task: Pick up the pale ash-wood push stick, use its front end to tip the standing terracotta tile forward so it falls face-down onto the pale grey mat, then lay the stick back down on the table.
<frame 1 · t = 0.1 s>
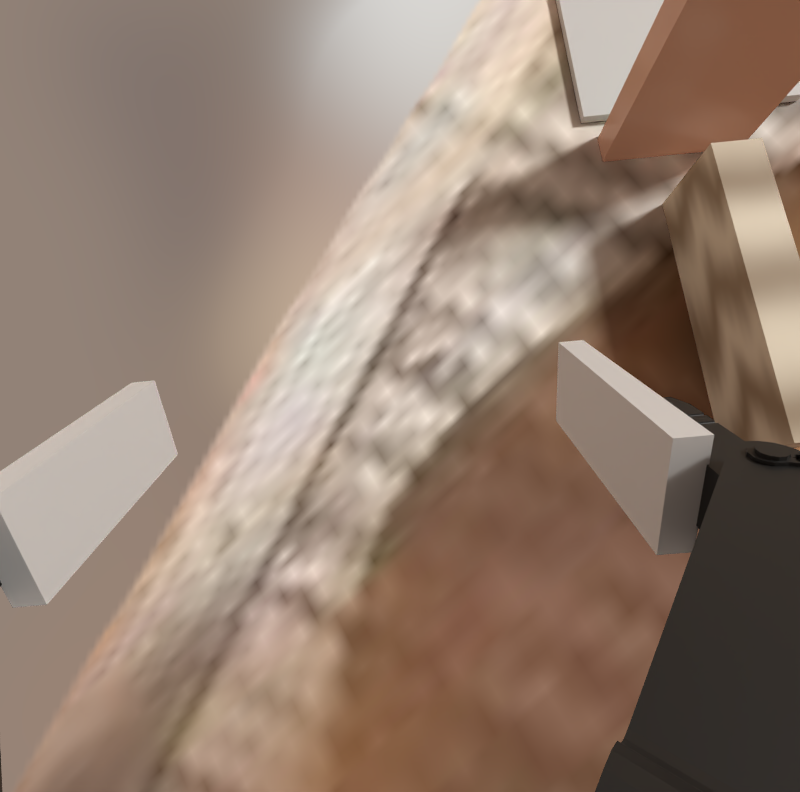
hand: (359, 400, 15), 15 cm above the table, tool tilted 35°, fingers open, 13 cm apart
tile: (668, 143, 35), on the table
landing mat: (669, 43, 37), on the table
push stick: (711, 320, 32), on the table
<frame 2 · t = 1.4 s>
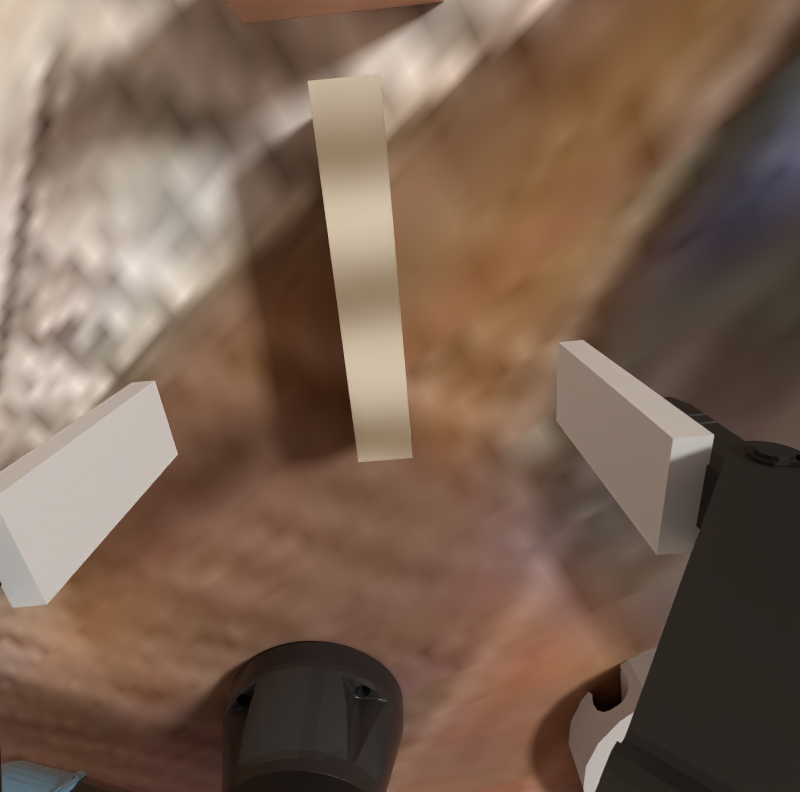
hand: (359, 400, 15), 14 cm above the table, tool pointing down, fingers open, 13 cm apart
ashtray: (690, 719, 44), on the table
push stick: (372, 279, 28), on the table
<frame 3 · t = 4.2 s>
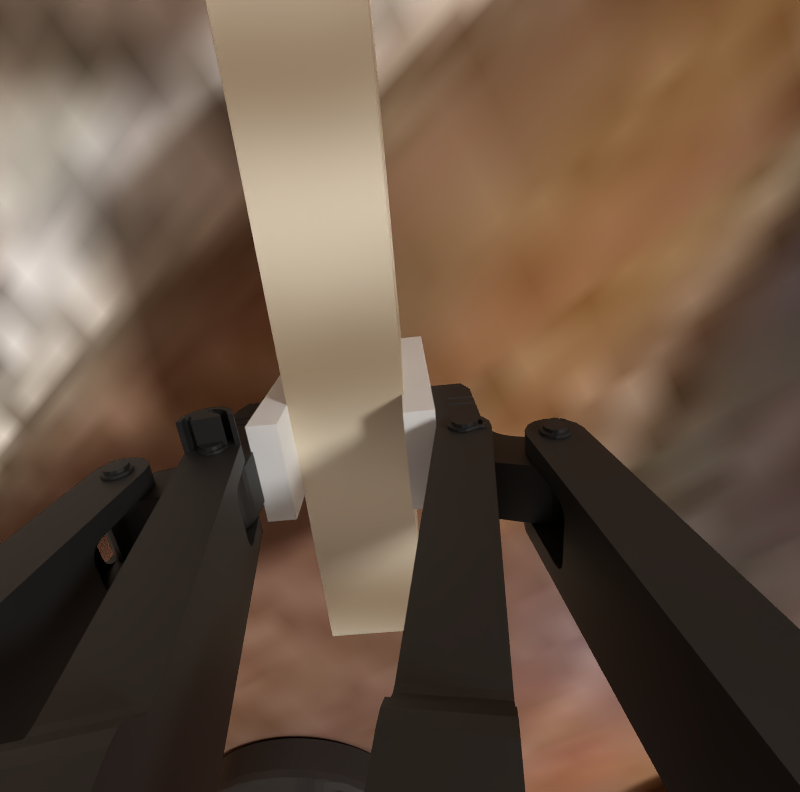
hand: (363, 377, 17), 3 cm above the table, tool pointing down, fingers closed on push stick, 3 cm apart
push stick: (357, 314, 17), point 3 cm above the table, touching gripper
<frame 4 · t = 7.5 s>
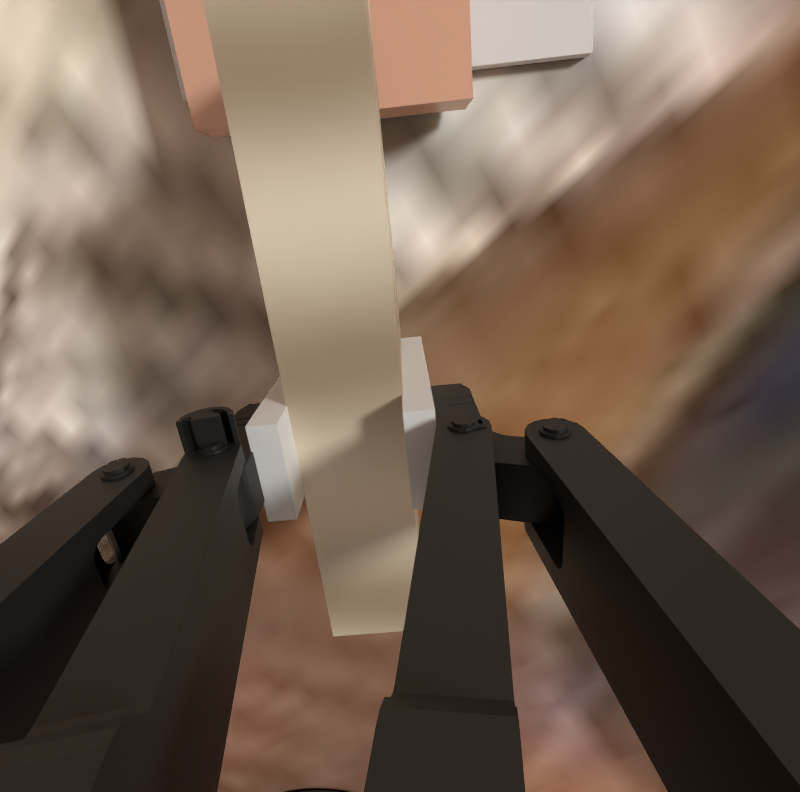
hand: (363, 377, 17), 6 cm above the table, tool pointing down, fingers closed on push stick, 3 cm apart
tile: (335, 118, 18), point 2 cm above the table, tilted 90°, touching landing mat
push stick: (357, 314, 17), point 5 cm above the table, touching gripper
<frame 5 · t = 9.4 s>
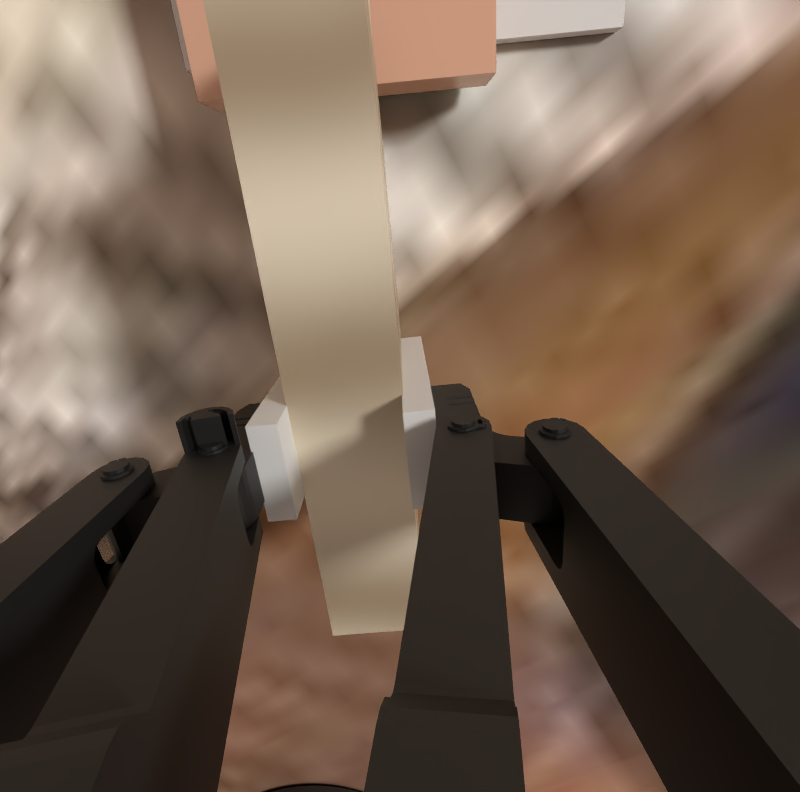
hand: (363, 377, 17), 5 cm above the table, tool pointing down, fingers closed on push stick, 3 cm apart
tile: (348, 93, 17), point 2 cm above the table, tilted 90°, touching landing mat
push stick: (357, 313, 17), point 4 cm above the table, touching gripper
when the fingers open (0 cm above the table, at t = 11.2 s): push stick stays where it is, on the table.
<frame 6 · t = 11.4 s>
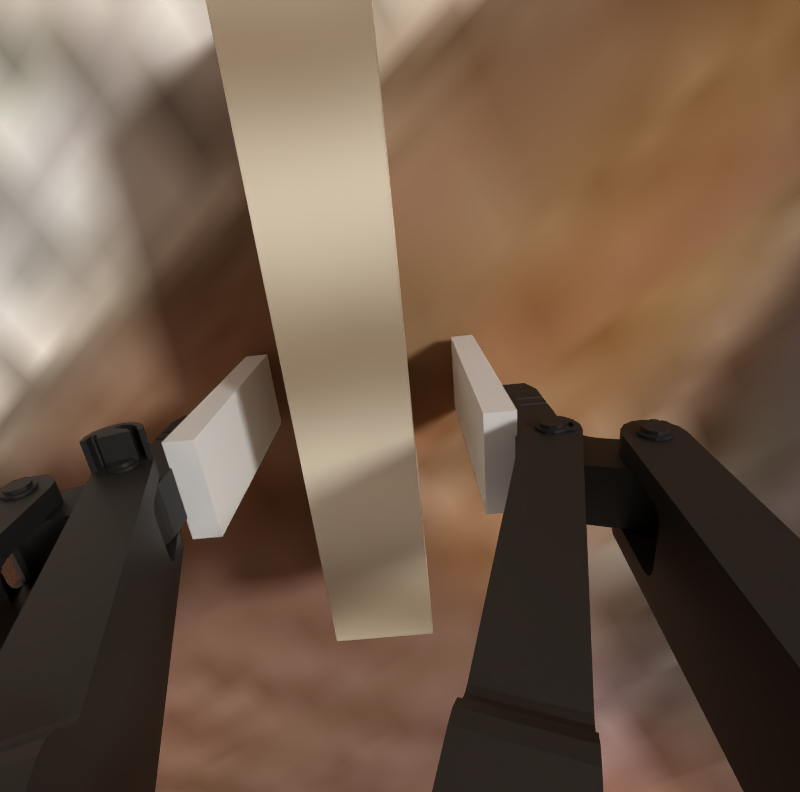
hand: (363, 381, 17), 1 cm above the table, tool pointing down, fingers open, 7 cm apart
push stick: (360, 310, 17), on the table
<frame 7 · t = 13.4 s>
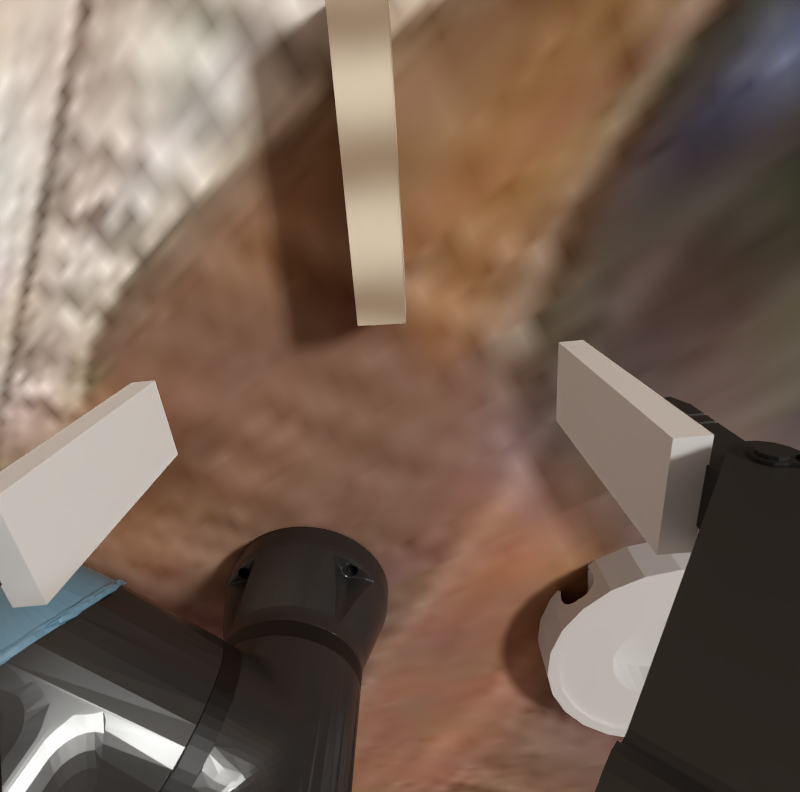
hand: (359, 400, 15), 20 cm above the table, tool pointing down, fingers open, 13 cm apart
ashtray: (651, 624, 48), on the table
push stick: (375, 167, 31), on the table
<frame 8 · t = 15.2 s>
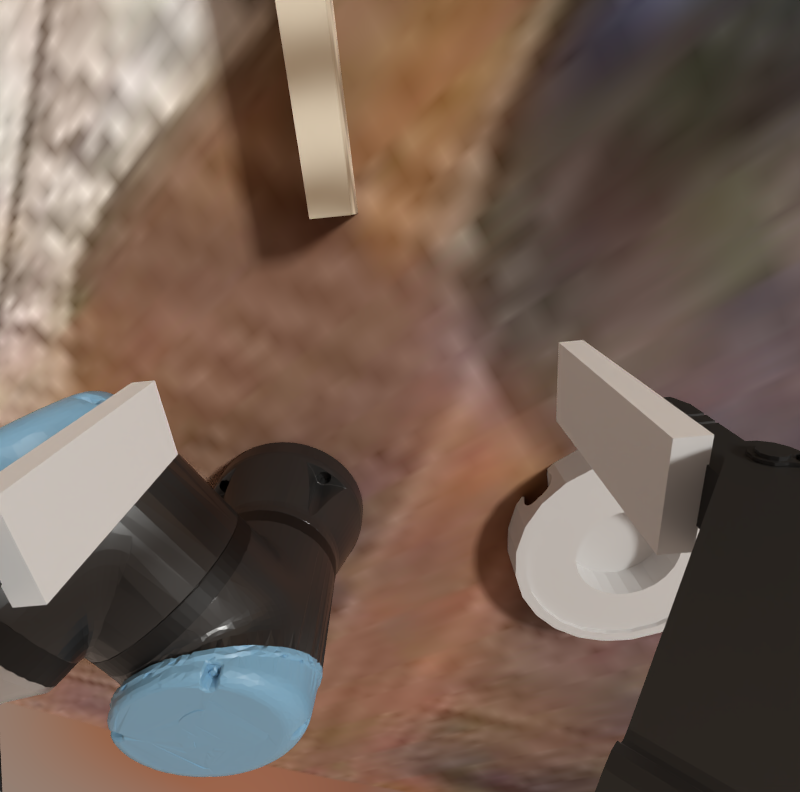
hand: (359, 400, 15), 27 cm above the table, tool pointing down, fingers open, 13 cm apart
ashtray: (612, 529, 51), on the table
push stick: (322, 86, 35), on the table
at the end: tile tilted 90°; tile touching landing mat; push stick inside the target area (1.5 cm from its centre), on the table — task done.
